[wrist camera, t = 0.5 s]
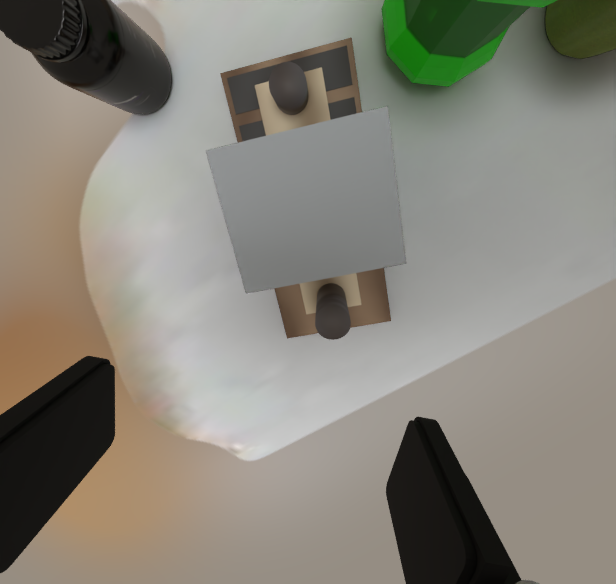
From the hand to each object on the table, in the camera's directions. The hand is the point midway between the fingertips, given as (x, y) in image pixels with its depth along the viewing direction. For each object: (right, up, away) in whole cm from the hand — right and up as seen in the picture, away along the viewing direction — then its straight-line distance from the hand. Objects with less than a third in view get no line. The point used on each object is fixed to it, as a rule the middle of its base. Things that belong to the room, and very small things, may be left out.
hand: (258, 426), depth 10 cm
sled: (+2, +13, +21) cm, 25 cm away
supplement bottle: (-15, +25, +20) cm, 35 cm away
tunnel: (+2, +13, +21) cm, 25 cm away
